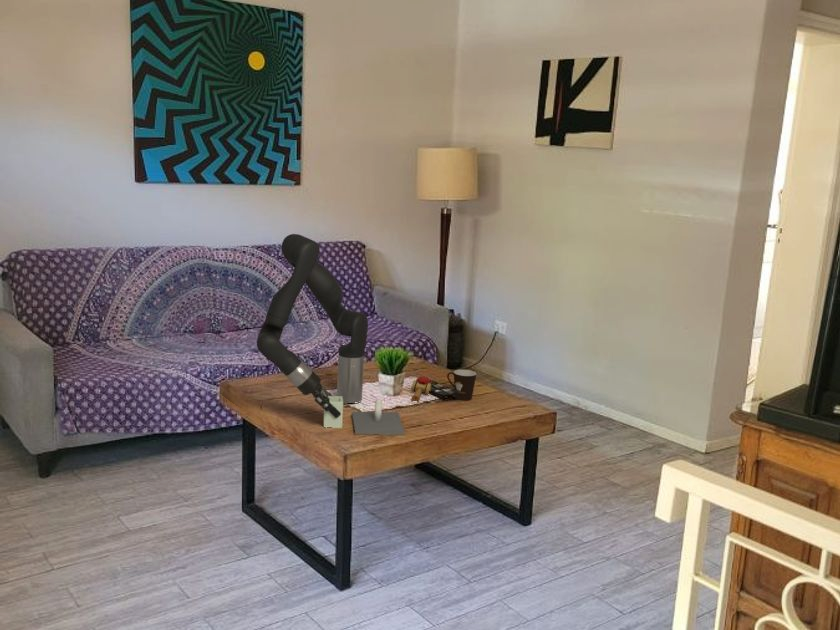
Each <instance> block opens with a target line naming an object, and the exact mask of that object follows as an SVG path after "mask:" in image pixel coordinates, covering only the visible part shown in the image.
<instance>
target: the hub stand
mask: <svg viewBox="0 0 840 630" xmlns="http://www.w3.org/2000/svg"><path fill="white" fill-rule="evenodd" d="M382 410H383V399H380V398H377V399H375V400H374V411H352V412H351V418H352V423H353V430H354V435H355V434H380V435H379V436H381V435H382V436H387V435H388V436H405V428H404V425H403V423H402V422H403V421H402V420H401V419H402V418H401V417H400V413H399V411H397V412H395V411H394V412H389V411H387V412H386V411H384V412H383V411H382Z"/></svg>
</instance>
